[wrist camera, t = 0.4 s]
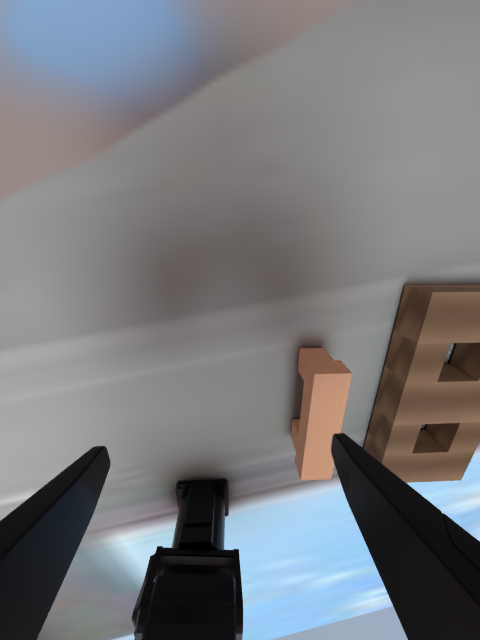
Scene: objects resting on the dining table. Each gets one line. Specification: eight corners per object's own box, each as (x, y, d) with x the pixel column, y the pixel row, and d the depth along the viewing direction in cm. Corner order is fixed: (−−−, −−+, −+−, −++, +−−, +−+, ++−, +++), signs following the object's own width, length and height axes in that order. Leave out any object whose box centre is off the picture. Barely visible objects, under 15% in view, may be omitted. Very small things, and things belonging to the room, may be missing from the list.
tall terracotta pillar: (313, 436, 27) (331, 479, 22) (288, 437, 26) (300, 480, 22) (326, 345, 22) (352, 373, 18) (296, 345, 22) (314, 374, 18)
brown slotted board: (438, 456, 29) (460, 480, 26) (361, 459, 28) (375, 483, 25) (509, 284, 21) (552, 291, 18) (405, 285, 21) (432, 292, 18)
